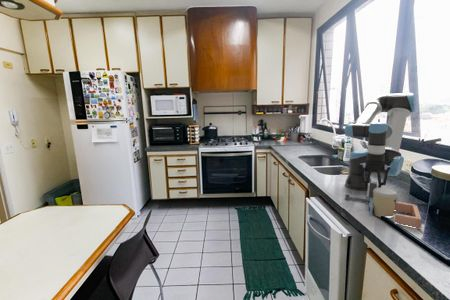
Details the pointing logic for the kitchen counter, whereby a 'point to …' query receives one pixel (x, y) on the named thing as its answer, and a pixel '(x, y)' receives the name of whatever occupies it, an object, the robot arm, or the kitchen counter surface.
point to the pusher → (371, 195)
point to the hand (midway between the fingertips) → (372, 196)
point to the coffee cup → (384, 201)
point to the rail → (357, 199)
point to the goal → (408, 220)
